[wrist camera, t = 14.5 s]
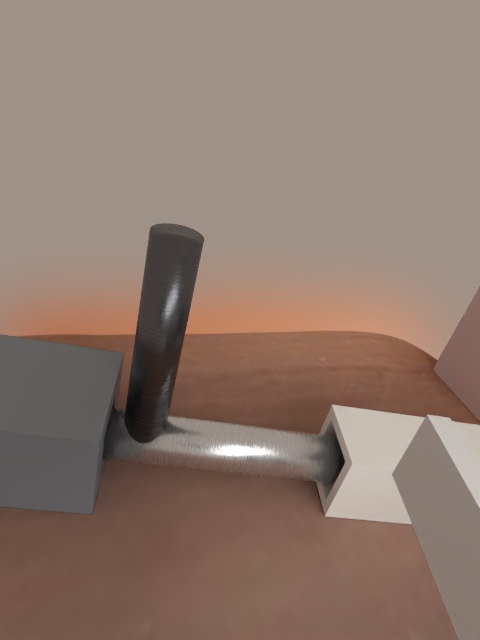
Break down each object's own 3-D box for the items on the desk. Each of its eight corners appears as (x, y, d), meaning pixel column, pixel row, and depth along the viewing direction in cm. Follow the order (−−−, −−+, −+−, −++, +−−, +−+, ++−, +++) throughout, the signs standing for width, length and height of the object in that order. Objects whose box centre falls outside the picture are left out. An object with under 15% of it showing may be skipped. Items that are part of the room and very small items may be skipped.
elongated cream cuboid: (502, 477, 43) (537, 433, 40) (542, 536, 37) (586, 490, 34) (309, 455, 39) (332, 404, 36) (324, 516, 34) (352, 463, 31)
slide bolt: (370, 462, 38) (471, 281, 30) (384, 498, 35) (501, 309, 26) (57, 426, 34) (64, 200, 25) (42, 464, 31) (44, 221, 22)
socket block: (115, 418, 38) (123, 352, 34) (92, 514, 30) (99, 441, 26) (-11, 403, 36) (-17, 332, 32) (-71, 500, 28) (-86, 421, 25)
